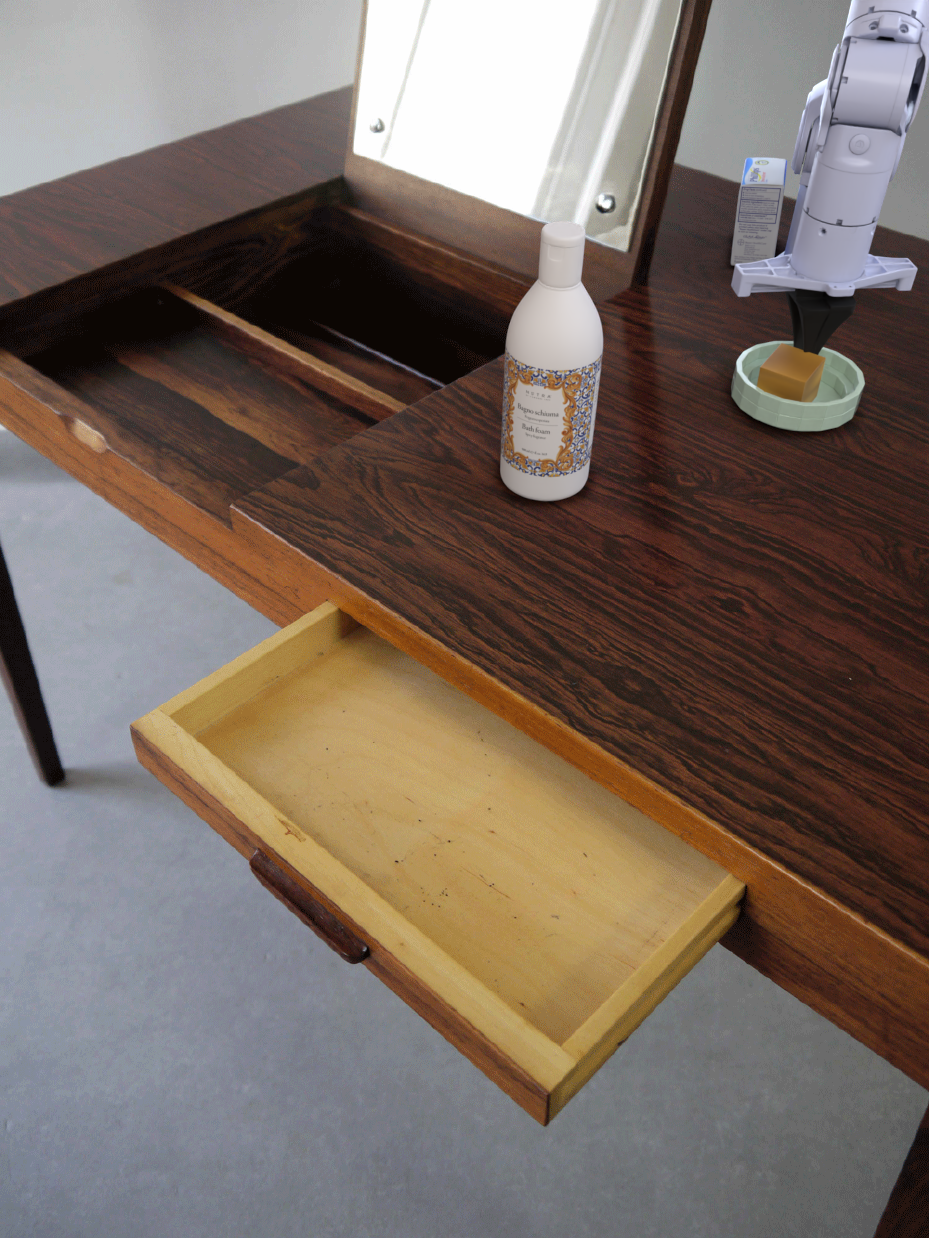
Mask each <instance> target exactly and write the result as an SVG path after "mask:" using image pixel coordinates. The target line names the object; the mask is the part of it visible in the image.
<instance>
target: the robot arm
mask: <svg viewBox="0 0 929 1238" xmlns="http://www.w3.org/2000/svg"><path fill="white" fill-rule="evenodd" d="M839 48H840V49H839ZM928 73H929V0H851V1H850V6H849V11H848V15H847V19H846V23H845V27H844V32H843V36H842V40H841V43H837V44H836V46H835V48H834V51H833V54H832V57H831V63H830V67H829V71H828V75H827V78H826V79H824V80H822V81H820V82H818V83H817V84H815V85H814V86H813V87H812V90H811V91H810V92H809V93H808V95H807V99H806V104H805V107H804V109H803V111H802V115H801V118H800V123H799V128H798V132H797V136H796V141H795V145H794V150H793V154H792V157H791V158H792V159H791V162H790V163H791V164H790V168H791V170H792V171H793V174H794V175H800V178H799V188H798V192H797V197H796V201H795V205H794V209H793V214H792V217H791V222H790V227H789V231H788V236H787V239H786V245H785V248H784V251H782V252H781V253H779V254H778V255H777V256H776V257H775V256H774V258H770V259H766V260H761V261H757V262H752V263H742V264H735V266H734V269H733V273H732V279H731V284H730V287H731V288H732V290H733V292H734V294H735V295H736V296H737V298H748V297H750V296H751V293H776V292H777V293H779V292H780V293H781V292H784V294H785V299H786V302H787V305H788V310H789V315H790V319H791V320H790V321H791V326H792V339H793V340H792V341H793V347H795V348H798V349H801V350H803V351H804V352H810V353H813V354H816V355H818V354H819V352H820V351H821V349H822V348H823V347H824V346H825V345H826V344H827V342H828V341H829V339H830V338H831V337H832V335H833V334H834V333H835V332H836V331H837V330H838V328H840V327H841V326H842V325H843V324H844V323H845V321H847V320H849V318H850V317H852V315H853V314H854V312H855V309H856V306H857V304H858V303H857V300H856V299H855V298H854V296H853V295H854V294H855V291H856V290H858V289H860V290H861V289H888V288H891V289H892V288H895V290H897V291H899V292H910V291H912V287H913V285H914V281H915V279H916V275H917V274H918V273H917V272H918V267H917V266H916V265H915V264H914V262H912V261H911V260H910V259H909V258H908V257H888V256H887V257H886V256H879V255H873V254H871V253H870V249H871V246H872V242H873V239H874V236H875V233H876V228H877V225H878V222H879V218H880V214H881V211H882V208H883V205H884V201H885V197H886V194H887V191H888V187H889V183H890V182H892V181H893V180H894V178H895V175H896V173H897V170H898V166H899V163H900V161H901V156H902V153H903V149H904V145H905V141H906V136H907V133H908V132H909V130H910V128H911V126H912V124H913V122H914V120H915V118H916V116H917V113H918V110H919V107H920V103H921V100H922V96H923V93H924V90H925V87H926V82H927V78H928ZM801 170H802V171H801Z"/></svg>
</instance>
